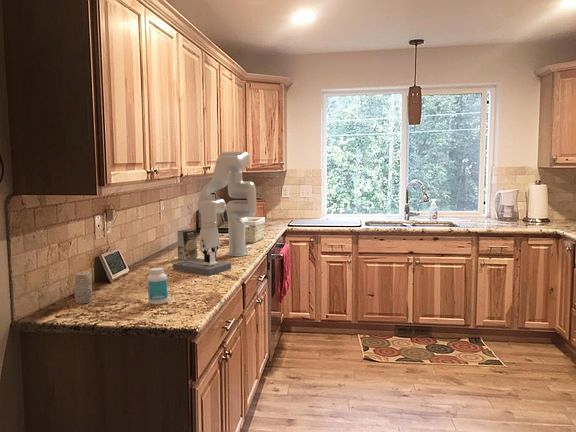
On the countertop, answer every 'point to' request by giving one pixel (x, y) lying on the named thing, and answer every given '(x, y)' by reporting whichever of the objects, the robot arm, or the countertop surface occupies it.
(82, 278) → the grey cylinder
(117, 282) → the countertop surface
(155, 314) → the countertop surface
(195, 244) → the coffee box
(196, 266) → the console
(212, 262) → the fader
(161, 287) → the pill bottle
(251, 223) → the storage basket
